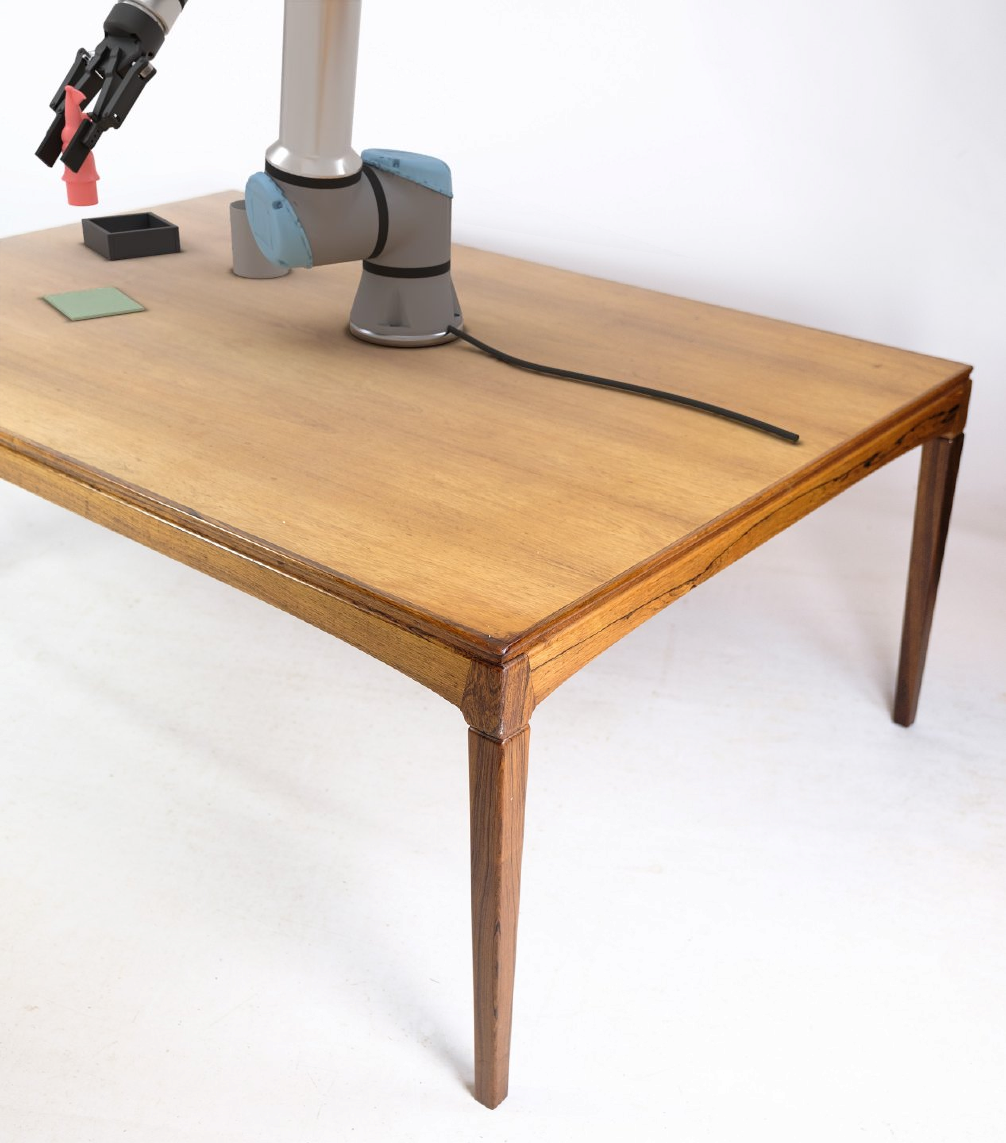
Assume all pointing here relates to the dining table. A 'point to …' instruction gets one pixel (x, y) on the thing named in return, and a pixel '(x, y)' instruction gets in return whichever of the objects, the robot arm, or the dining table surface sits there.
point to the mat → (93, 303)
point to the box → (131, 235)
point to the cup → (248, 247)
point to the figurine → (84, 181)
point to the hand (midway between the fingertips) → (55, 163)
